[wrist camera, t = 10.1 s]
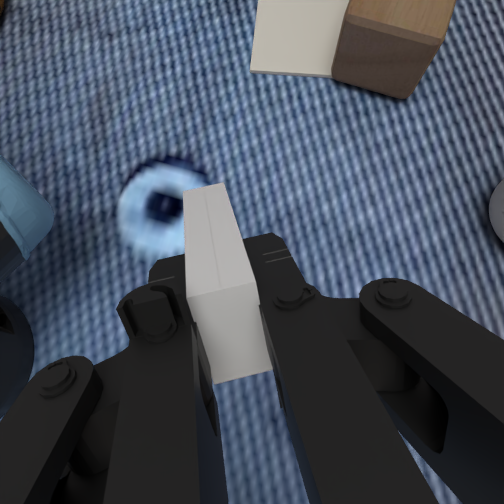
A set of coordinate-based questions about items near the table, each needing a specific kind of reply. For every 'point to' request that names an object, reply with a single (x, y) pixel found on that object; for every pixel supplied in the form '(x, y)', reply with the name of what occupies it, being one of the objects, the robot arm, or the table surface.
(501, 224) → the teacup
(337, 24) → the mat
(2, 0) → the bread roll
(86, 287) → the table surface
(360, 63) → the wooden block
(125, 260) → the table surface
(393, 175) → the table surface
